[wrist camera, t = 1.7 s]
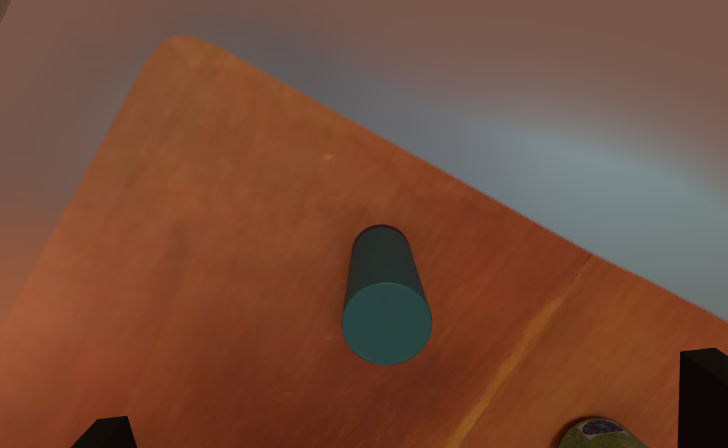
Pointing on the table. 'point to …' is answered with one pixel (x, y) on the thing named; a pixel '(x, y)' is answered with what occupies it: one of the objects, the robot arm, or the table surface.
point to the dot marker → (384, 299)
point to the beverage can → (599, 435)
